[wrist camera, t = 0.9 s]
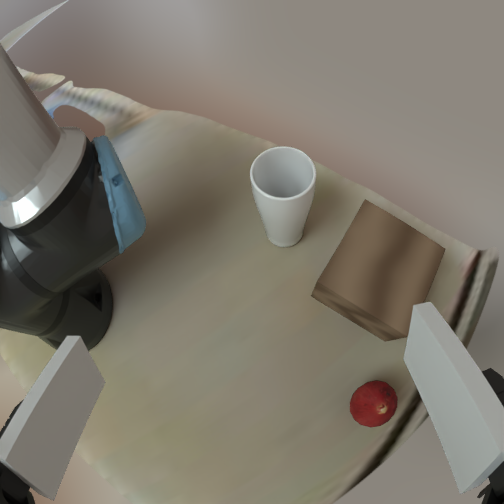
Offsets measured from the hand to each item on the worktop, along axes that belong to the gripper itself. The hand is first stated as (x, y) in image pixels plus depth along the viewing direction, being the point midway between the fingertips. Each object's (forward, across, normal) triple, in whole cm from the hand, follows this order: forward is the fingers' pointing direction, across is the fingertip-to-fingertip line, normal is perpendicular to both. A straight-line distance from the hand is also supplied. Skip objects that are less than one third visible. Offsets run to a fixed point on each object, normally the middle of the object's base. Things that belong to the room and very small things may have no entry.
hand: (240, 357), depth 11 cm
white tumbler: (+33, +3, -8) cm, 34 cm away
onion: (+16, +11, -26) cm, 32 cm away
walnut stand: (+27, +14, -14) cm, 33 cm away
